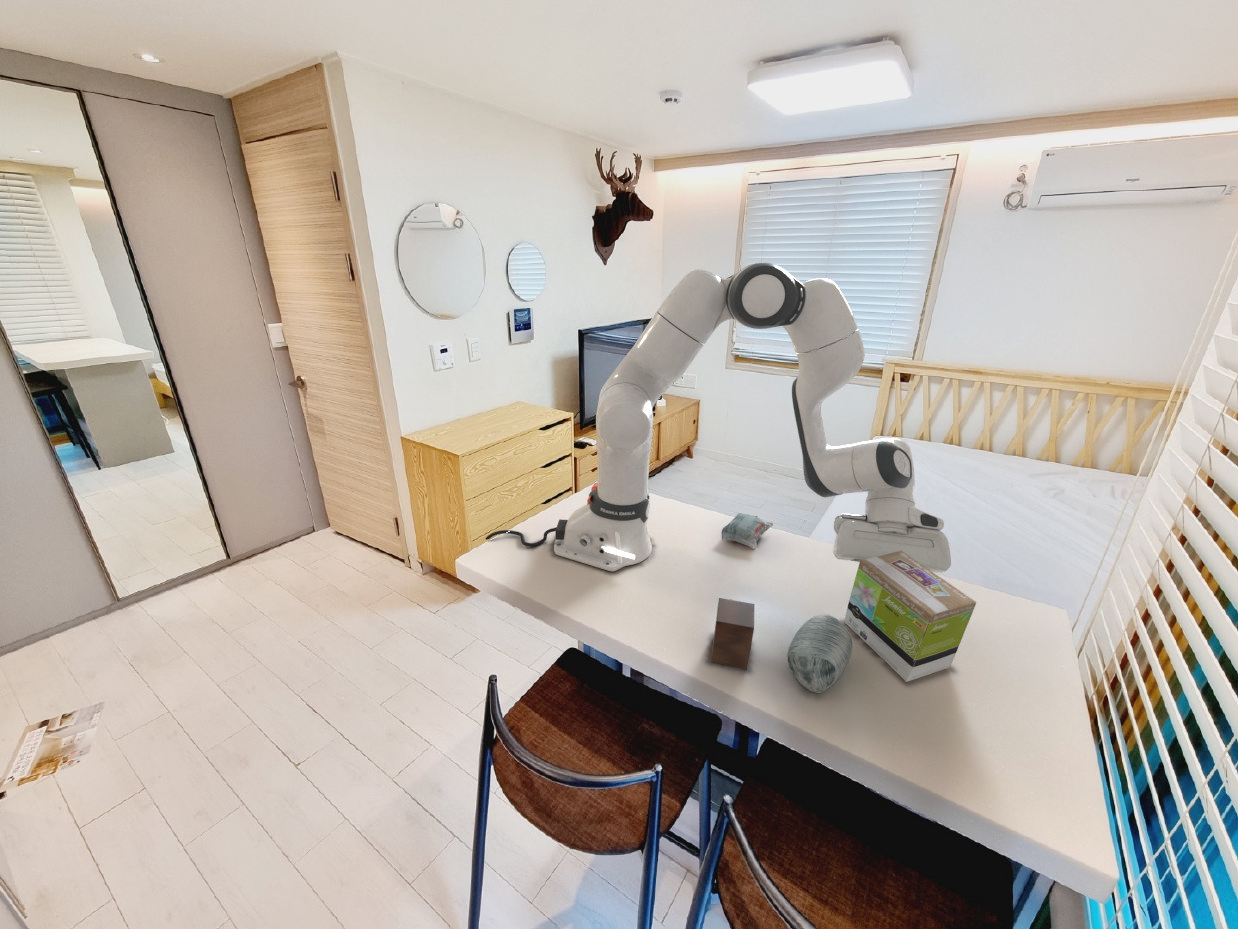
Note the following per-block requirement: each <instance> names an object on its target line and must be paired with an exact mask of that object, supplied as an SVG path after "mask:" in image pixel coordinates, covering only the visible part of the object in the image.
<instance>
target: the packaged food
mask: <svg viewBox="0 0 1238 929" xmlns="http://www.w3.org/2000/svg"><path fill="white" fill-rule="evenodd" d="M773 526H774V523H773V522H771V521H769V522H768V521H766V520H764V519H761V518H760V517H758V515H755V514H748V513H742V512H739V513H737V514H736V515H735V516H734V518H732V520H731V521H730V522H729V523H728V524H726V525H725V526H724V527H723V528H722V529H721V540H723V541H725V540H728V541H732V542H735V543H738V544H741V545H743V546H747V547H749V548H750V549H752V550H756V549H757V544H758V541H759V539H760V538H761V537H762V535H764V534H765V533H766V532H767V531H768V530H769V529H770V528H772V527H773Z"/></svg>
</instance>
